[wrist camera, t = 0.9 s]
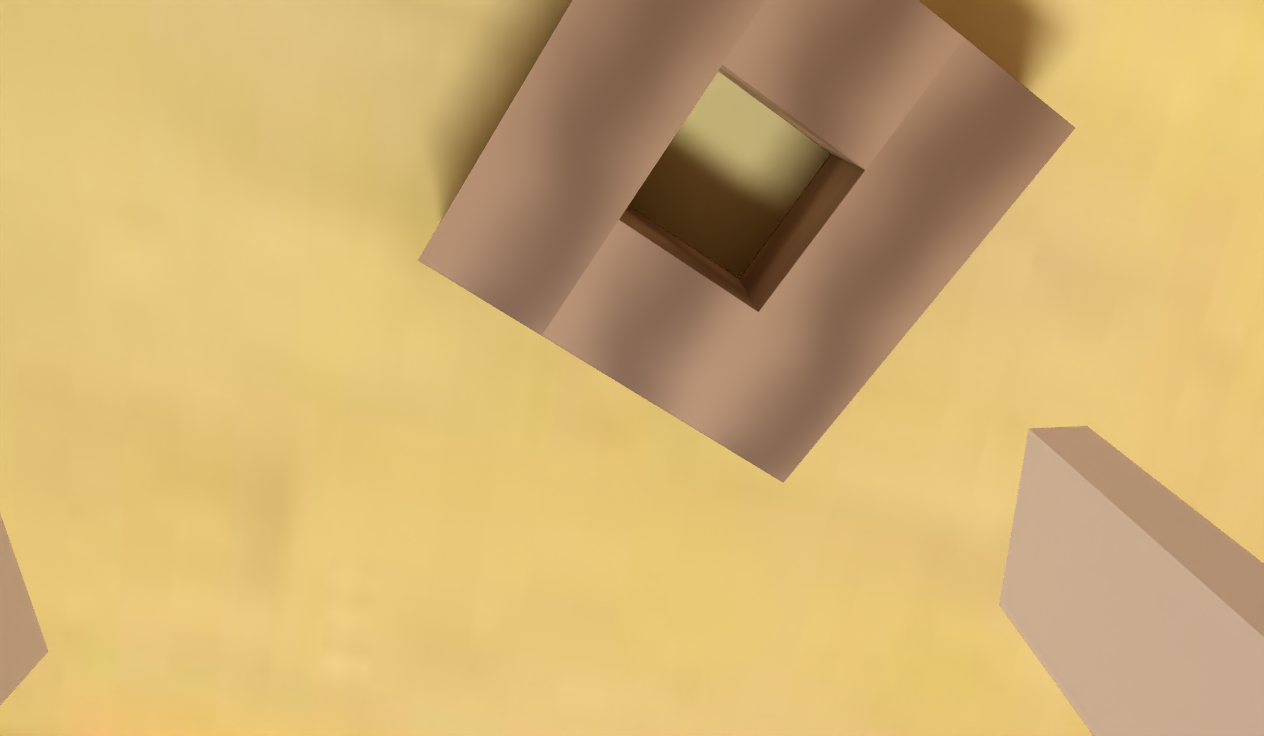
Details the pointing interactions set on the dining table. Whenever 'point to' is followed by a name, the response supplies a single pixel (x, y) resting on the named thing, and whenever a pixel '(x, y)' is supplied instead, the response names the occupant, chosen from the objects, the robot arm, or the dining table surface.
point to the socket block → (800, 246)
